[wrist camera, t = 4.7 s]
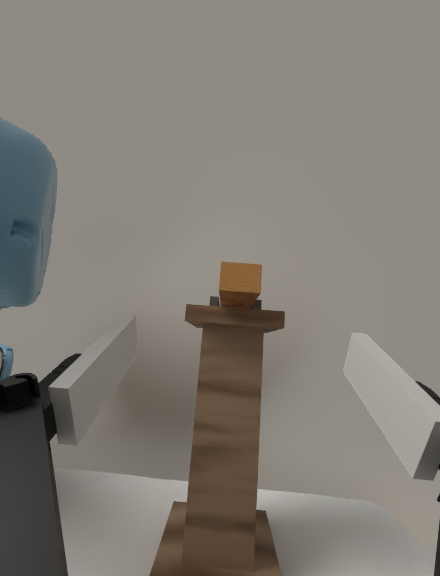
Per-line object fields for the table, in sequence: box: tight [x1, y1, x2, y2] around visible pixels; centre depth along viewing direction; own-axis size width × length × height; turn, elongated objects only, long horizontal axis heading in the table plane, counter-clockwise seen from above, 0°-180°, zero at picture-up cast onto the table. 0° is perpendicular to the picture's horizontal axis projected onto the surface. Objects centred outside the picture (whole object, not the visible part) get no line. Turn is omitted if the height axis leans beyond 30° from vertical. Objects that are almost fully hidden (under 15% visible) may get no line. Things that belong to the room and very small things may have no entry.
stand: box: [150, 296, 285, 576], centre depth 35 cm, size 14×14×31 cm
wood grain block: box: [219, 262, 262, 309], centre depth 33 cm, size 24×4×2 cm, turn 179°
